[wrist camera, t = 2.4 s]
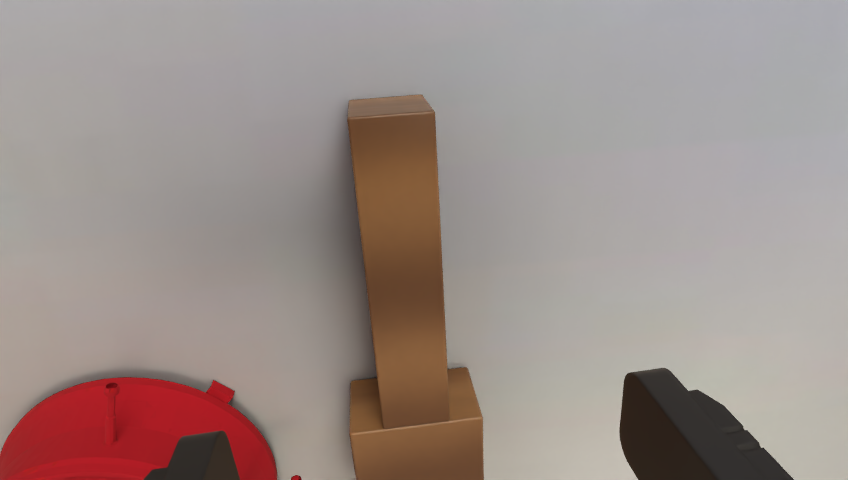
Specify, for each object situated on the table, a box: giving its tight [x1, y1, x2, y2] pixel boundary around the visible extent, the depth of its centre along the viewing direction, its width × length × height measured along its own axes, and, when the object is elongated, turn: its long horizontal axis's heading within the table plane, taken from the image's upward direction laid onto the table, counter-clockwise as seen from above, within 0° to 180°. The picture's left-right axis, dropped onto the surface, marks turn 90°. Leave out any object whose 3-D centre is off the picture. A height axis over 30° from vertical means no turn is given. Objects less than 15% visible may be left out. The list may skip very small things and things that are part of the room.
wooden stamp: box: [347, 95, 484, 480], centre depth 19 cm, size 16×5×3 cm, turn 3°
